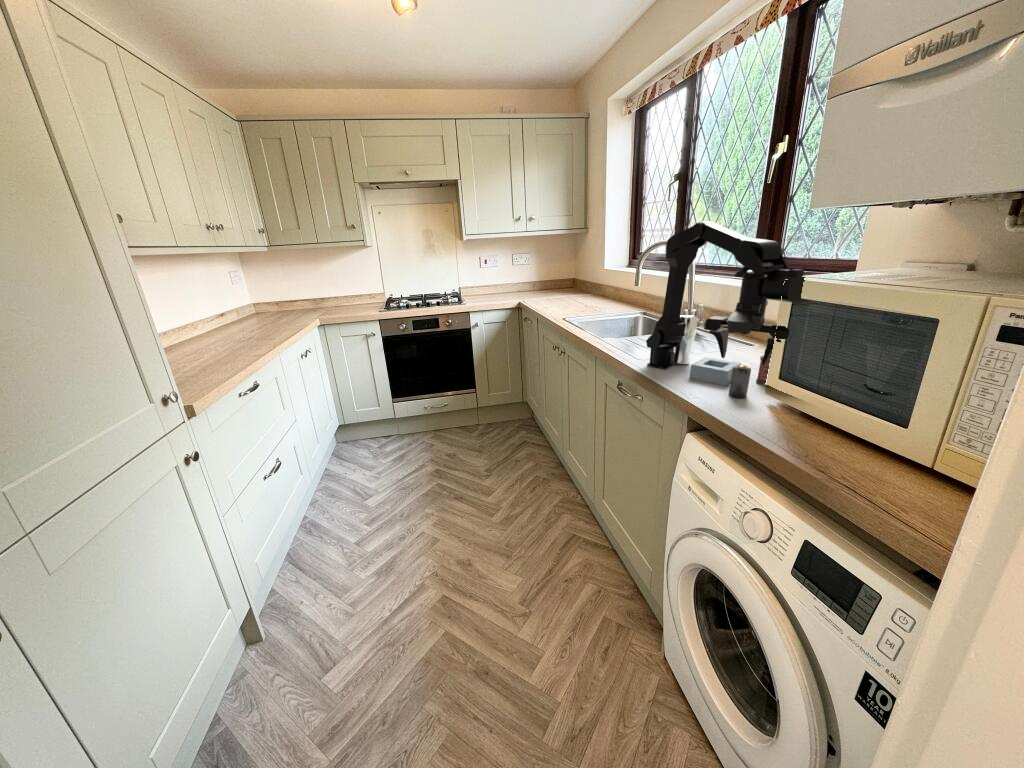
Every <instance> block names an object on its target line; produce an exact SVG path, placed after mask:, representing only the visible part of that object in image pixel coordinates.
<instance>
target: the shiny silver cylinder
mask: <svg viewBox="0 0 1024 768" xmlns="http://www.w3.org/2000/svg"><path fill="white" fill-rule="evenodd" d="M680 318H681V320H682V323H686V327H685V332H684V334H685V336H683V338H682V340H681V341H680V343H679V346H678V347H674V352H675V358H674V363H675V364H676V365H689V364H690V362H691V361H690V353H691V349H692V346H693V343H694V341H695V338H696V335H697V328H698V318H699V316H696V315H688V314H687V315H685V314H680Z"/></svg>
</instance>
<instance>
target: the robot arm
mask: <svg viewBox="0 0 1024 768" xmlns="http://www.w3.org/2000/svg"><path fill="white" fill-rule="evenodd" d="M707 243H708V244H709V243H710V244H712V245H714V246H716V247H718V248H720V249H722V250H724V251H727V252H729V253H730V254H732V255H733V256H734V259H735V260H736V262H738V263H739V265H742V266H743V267H742V268H741V269H740V270H738V271H737V272H736V273H735V274H734V277H735V278H742V280H741V285H740V292H739V297H738V301H737V303H736V306H735V309H734V312H732V313H731V314H730V315H729V316H720V315H713V316H711V317H708V318H707V319H705V321H704V325H703V326H704V327H703V330H705V331H708V333H709V334H712V335H713V336H714V337H715V339H716V341H717V345H718V348H719V353H720V357H721V359H725V358H726V354H727V350H728V342H729V334H733V333H735V334H741V335H749V334H751V332H757V333H766V334H769V335H770V337H769V338H767V341H766V347H765V349H766V350H765V349H764V354H763V356H764V357H763V361H762V365H765V363H766V362H767V360H768V359H769V357H770V356H771V354H772V349H773V344H774V338H775V336H776V338H777V340H776V341H777V342H780V343H782V342H781V340H779V339H786V340H785V341H787V338H788V335H789V329H787V328H786V327H785V326H781V325H780V326H779V325H778V327H777V322H775V323H774V324H765V319H766V318H765V314H766V310H767V309H766V308H767V306H768V303H769V301H777V302H785V303H794V304H795V303H798V302H800V301H801V300H802V299H801V293H802V287H803V282H804V281H805V280H804V278H806V276H804V272H805V270H804V269H801V268H799V269H798V268H796V269H790V267H789V266H788V263H787V262H786V259H785V258H784V256H783V253H782V250H781V244H780V243H779V242H778V241H776V240H770V239H766V238H758V237H757V238H756V237H750V236H749V237H748V236H746V235H743V234H741V233H739V232H736V231H733V230H731V229H728V228H727V227H724V226H722V225H719V224H717V223H716V222H714V221H712V220H711V221H710V220H709V221H707V220H706V221H699V222H696V223H695V224H694V225H692V226H691V227H689V228H686V229H684V230H682V231H679V232H678V233H676V234H672V235H671V236H670V237H669V238H668V239H667V242H666V244H665V245H666V246H665V259H666V261H667V263H668V266H669V270H668V278H667V283H666V290H665V296H664V304H663V309H662V315H661V316H660V317H659V319H658V320H657V322H655V325H654V326H655V327H654V329H653V333H652V334H650V336H649V337H648V338H647V339H646V341H645V343H646V347H647V348H649V349H650V354H649V356H650V357H649V362H648V363H647V364H646V366H647V367H653V368H658V369H662V370H667V369H669V368H671V367H673V366H675V364H676V363H674V358H675V352H674V347H678V346H679V343H680V341H681V340H682V338H683V336H685V334H684V332H685V327H686V323H682V320H681V318H680V315H681V312H682V305H683V301H684V293H685V288H686V282H687V277H688V271H689V267H690V266H691V265H692V263H693V262H694V261H695V260H696V257H697V254H698V251H699V249H700V248H702V247H703V246H704V245H705V246H706V244H707ZM802 276H804V277H802ZM785 279H788V280H785ZM784 281H785V283H784ZM783 283H784V285H783ZM781 296H782V301H781ZM768 300H769V301H768ZM776 327H777V329H776ZM775 333H776V334H775Z"/></svg>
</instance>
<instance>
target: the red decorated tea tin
mask: <svg viewBox="0 0 1024 768" xmlns="http://www.w3.org/2000/svg"><path fill="white" fill-rule="evenodd" d="M765 350H766V348H765V349H764V351H765ZM763 357H764V355H760V358H759V360H760V361H759V363H760V364H759V366H758V367H759V368H758V372H757V373H758V374H757V378H756V381H755V383H756V384H757V385H762V386H766V385H765V383H766V379H767V374H768V369H769V363H770V358H771V356H770V357H769V359H768V360H767V362H766V363H765V365H762V361H763Z"/></svg>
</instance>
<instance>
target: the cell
mask: <svg viewBox="0 0 1024 768" xmlns="http://www.w3.org/2000/svg"><path fill="white" fill-rule="evenodd" d="M751 371H752V368H751V367H748V366H747V365H743V364H741V365H738V366H735V367H733V370H732V376H731V382H730V383H729V390H728V396H729V397H730V398H733V399H739V400H743V399H746V398H747V395H748V389H749V383H750V380H751Z"/></svg>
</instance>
